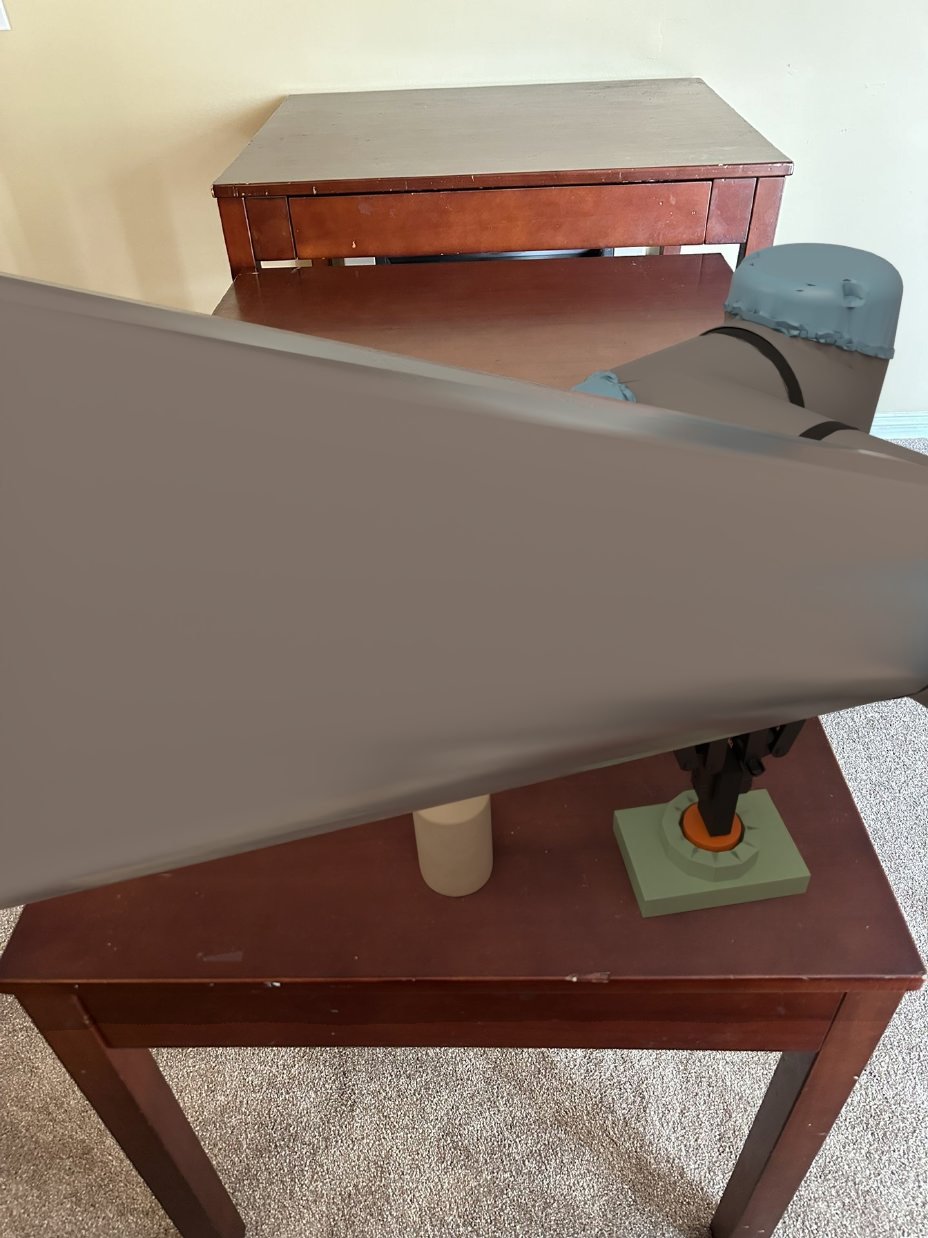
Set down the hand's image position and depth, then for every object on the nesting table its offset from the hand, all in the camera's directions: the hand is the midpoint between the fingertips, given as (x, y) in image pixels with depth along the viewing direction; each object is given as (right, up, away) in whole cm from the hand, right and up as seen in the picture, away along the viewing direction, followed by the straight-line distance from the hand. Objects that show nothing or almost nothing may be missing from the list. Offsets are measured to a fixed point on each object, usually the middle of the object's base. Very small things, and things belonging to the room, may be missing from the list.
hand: (713, 820), depth 64 cm
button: (0, -2, +1) cm, 2 cm away
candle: (-18, -4, +4) cm, 19 cm away
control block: (0, -4, +3) cm, 5 cm away
